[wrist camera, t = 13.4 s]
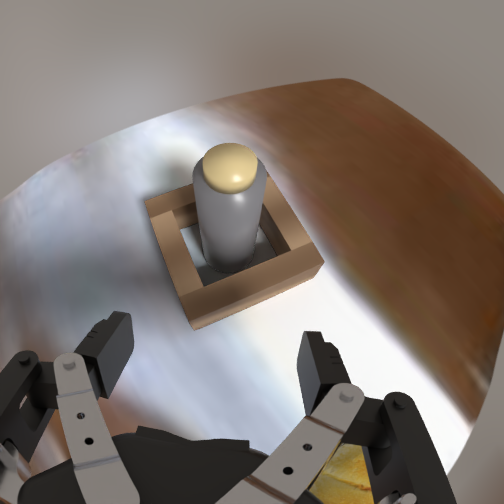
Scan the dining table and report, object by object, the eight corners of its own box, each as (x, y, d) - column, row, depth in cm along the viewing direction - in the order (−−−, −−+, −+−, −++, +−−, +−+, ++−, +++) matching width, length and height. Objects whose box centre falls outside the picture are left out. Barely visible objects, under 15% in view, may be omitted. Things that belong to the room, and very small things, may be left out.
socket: (152, 221, 24) (144, 201, 21) (257, 184, 27) (260, 161, 24) (194, 330, 20) (188, 321, 18) (313, 277, 23) (324, 261, 20)
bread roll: (420, 455, 17) (449, 460, 13) (356, 537, 13) (376, 555, 10) (354, 412, 18) (379, 415, 15) (279, 502, 15) (290, 523, 11)
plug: (196, 238, 24) (181, 148, 15) (240, 221, 25) (248, 129, 16) (215, 280, 22) (207, 202, 13) (262, 261, 23) (283, 177, 14)
